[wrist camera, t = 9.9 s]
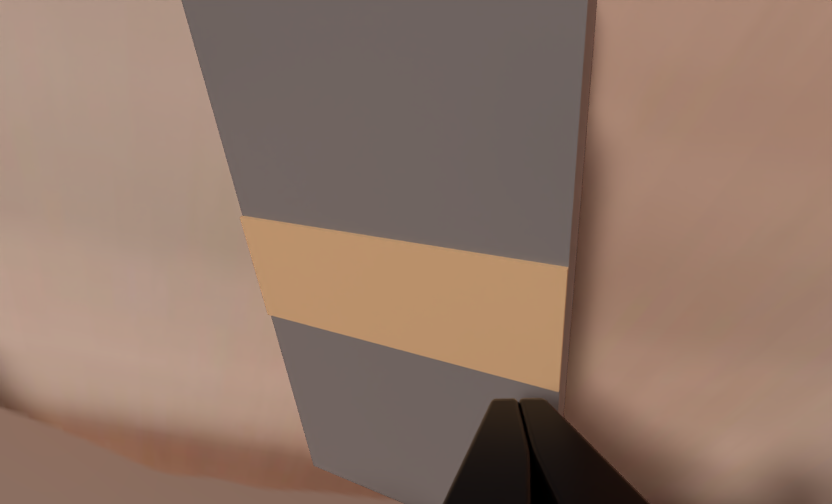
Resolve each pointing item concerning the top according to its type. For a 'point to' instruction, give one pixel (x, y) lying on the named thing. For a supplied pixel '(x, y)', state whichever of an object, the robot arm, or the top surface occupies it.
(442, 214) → the flap lid
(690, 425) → the top surface
